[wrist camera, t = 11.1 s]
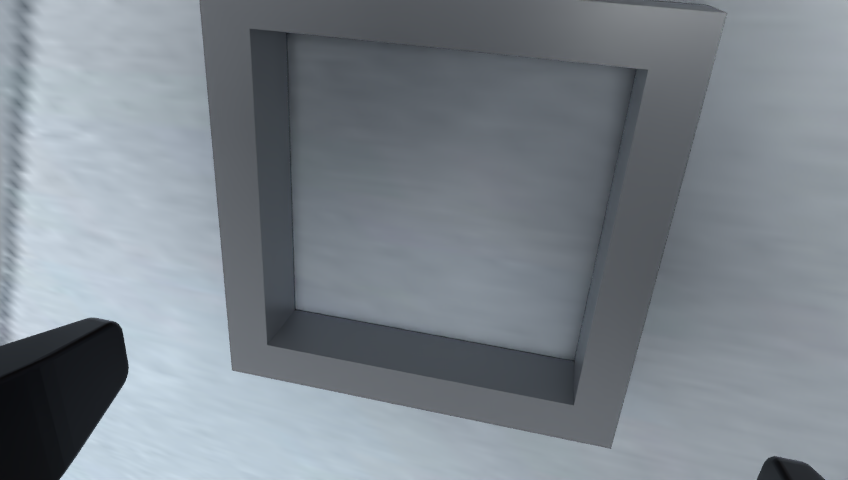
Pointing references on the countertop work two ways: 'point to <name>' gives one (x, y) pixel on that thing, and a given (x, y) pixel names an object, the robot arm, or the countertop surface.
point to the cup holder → (422, 353)
